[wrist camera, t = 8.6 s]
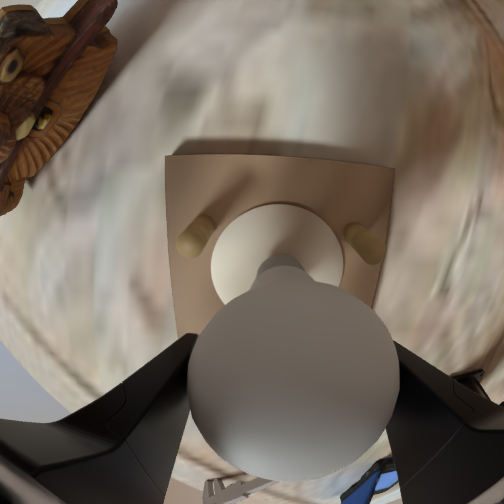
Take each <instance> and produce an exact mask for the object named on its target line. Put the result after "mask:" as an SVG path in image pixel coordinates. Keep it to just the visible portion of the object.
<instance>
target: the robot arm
mask: <svg viewBox="0 0 504 504" xmlns="http://www.w3.org/2000/svg"><path fill="white" fill-rule="evenodd" d="M198 336H199V335H198V334H196V333H186V334H184V335H183V336H182V337H181V338H179V339H178V340H177V341H175V342H174V343H173V344H171V345H170V346H169V347H168V348H166V349H165V350H164V351H162V352H161V353H160V354H158V355H157V356H156V357H155V358H153V359H152V360H151V361H149V362H148V363H147V364H145V365H144V366H143V367H141V368H140V369H139V370H137V371H136V372H135V373H133V374H132V375H131V376H129V377H128V378H127V379H125V380H124V381H123V382H122V383H120V384H119V385H117V386H116V387H115V388H113V389H112V390H110V391H109V392H107V393H106V394H105V395H103V396H102V397H100V398H98V399H97V400H95V401H93V402H92V403H90V404H88V405H86V406H85V407H83V408H81V409H79V410H77V411H76V412H74V413H72V414H70V415H68V416H67V417H65V418H63V419H61V420H58V421H56V422H52V423H32V422H23V421H13V420H6V419H0V504H163V503H164V499H165V495H166V491H167V488H168V484H169V481H170V477H171V474H172V470H173V467H174V463H175V460H176V456H177V453H178V449H179V446H180V442H181V439H182V436H183V432H184V429H185V425H186V422H187V419H188V415H189V412H190V405H189V400H188V395H187V372H188V363H189V360H190V357H191V354H192V351H193V348H194V346H195V343H196V341H197V339H198ZM393 342H394V345H395V348H396V352H397V356H398V360H399V379H400V390H399V394H398V397H397V401H396V404H395V407H394V410H393V414H392V417H391V419H390V420H389V422H388V424H387V426H386V432H387V435H388V439H389V443H390V447H391V451H392V455H393V459H394V463H395V468H396V472H397V477H398V481H399V486H400V492H401V497H402V502H403V504H504V402H502V403H501V404H500V405H498V404H496V403H494V402H492V401H491V400H490V398H489V397H488V395H487V394H486V392H485V391H484V389H483V388H482V386H481V385H480V383H479V382H480V380H481V378H482V377H483V375H484V373H485V372H484V370H483V369H481V370H478V371H475V372H472V373H468V374H465V375H461V376H458V377H454V378H451V377H449V376H448V375H446V374H445V373H443V372H442V371H440V370H439V369H437V368H436V367H434V366H432V365H431V364H429V363H428V362H426V361H425V360H423V359H422V358H420V357H419V356H417V355H415V354H414V353H412V352H411V351H409V350H408V349H406V348H405V347H403V346H402V345H400V344H398V343H397V342H395V341H394V340H393Z"/></svg>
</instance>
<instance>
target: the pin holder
mask: <svg viewBox="0 0 504 504" xmlns="http://www.w3.org/2000/svg"><path fill="white" fill-rule="evenodd" d="M394 172H395V169H393V168H387V167H381V166H374V165H367V164H360V163H352V162H344V161H335V160H325V159H314V158H302V157H288V156H270V155H240V154H198V155H169V156H165V195H166V220H167V237H168V252H169V264H170V275H171V285H172V295H173V303H174V312H175V320H176V327H177V334H178V339H179V338H181V337H182V336H183V335H184V334H186V333H196V334H198V335H200V334H201V332H202V331H203V330H204V328H205V327H206V326H207V325H208V323H209V322H210V321H211V319H212V318H213V317H214V316H215V314H216V313H217V312H218V311H219V310H220V309H221V308H222V307H224V306H225V305H226V304H227V303H228V302H230V301H231V300H232V299H234V298H236V297H238V296H240V295H241V294H243V293H245V292H247V291H249V289H250V287H251V285H252V283H253V282H254V280H255V278H256V275H257V271H258V269H259V267H260V265H261V264H262V263H263V262H264V261H265V260H266V259H268V258H270V257H272V256H276V255H287V256H291V257H293V258H295V259H296V260H298V261H299V262H300V263H301V265H302V266H303V268H304V269H305V272H306V273H308V274H309V275H310V276H311V277H312V278H313V279H314V281H317V282H322V283H327V284H332V285H334V286H337V287H339V288H341V289H344V290H346V291H348V292H350V293H351V294H353V295H354V296H355V297H357V298H358V299H360V300H361V301H362V302H364V303H365V304H366V305H367V306H369V307H370V308H371V306H372V302H373V298H374V294H375V290H376V285H377V281H378V276H379V272H380V267H381V262H382V260H383V259H384V257H385V255H386V246H385V241H386V235H387V229H388V222H389V216H390V208H391V201H392V192H393V183H394Z"/></svg>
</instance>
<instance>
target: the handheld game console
mask: <svg viewBox="0 0 504 504" xmlns="http://www.w3.org/2000/svg"><path fill="white" fill-rule="evenodd" d="M398 482H399V481H398V477H397V472H396V468H395V463H394V459H393V458H388V459H383V460H382V459H381V460H378V461H376V462H375V463H374V464H373V465H372V467H371V468H370V469H369V470H368V471H367V472H366V473H365V474H364V475H363V476H362V477H361V480H360V481H358V482H356V483H355V484H354V485H352V486H351V487H350V488H349V489H348V490H347V491H346V492H344V493H343V494H342V495H341V496H340V499H341V504H370V501H371V499H372V497H373V495H375V494H379V493H383V492H385V491H387V490H389V489H390V488H391V487H393V486H394V485H395V484H397V483H398Z"/></svg>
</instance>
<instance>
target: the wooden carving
mask: <svg viewBox="0 0 504 504" xmlns="http://www.w3.org/2000/svg"><path fill="white" fill-rule="evenodd" d="M117 4H118V2H117V0H78V1H77V2H76V3H75V4H74V5H73V6H72V7H71V8H70V10H69V11H68V12H67V13H66V14H65V15H64V16H63V17H59V18H45V19H43V18H42V17H41V16H40V14H39V13H38V11H37V10H36V9H35V8H34V7H33V6H31V5H11V6H6V7H2V8H1V9H0V216H2V215H5V214H6V213H7V212H10V211H12V210H13V209H14V208H16V206H17V205H18V203H19V201H20V199H21V197H22V193H23V189H24V183H25V177H27V178H30V177H32V176H34V175H35V174H36V173H37V172H38V171H39V170H40V169H41V168H42V167H43V166H44V165H45V164H46V162H48V161H49V160H50V158H51V157H52V156H53V155H54V154H55V152H56V151H57V150H58V149H59V148H60V146H61V145H62V144H63V143H64V142H65V140H66V139H67V137H68V136H69V134H70V133H71V131H72V130H73V129H74V128H75V126H76V124H77V123H78V121H79V120H80V119H81V117H82V115H83V114H84V112H85V110H86V109H87V108H88V106H89V104H90V103H91V102H92V101H93V98H94V96H95V95H96V93H97V91H98V90H99V88H100V86H101V83H102V81H103V80H104V77H105V75H106V73H107V71H108V69H109V66H110V64H111V62H112V60H113V57H114V55H115V53H116V50H117V39H116V38H115V37H114V36H112V34H111V33H110V32H109V31H110V30H109V29H108V28H107V27H106V26H105V25H106V24H107V23H108V21H109V20H110V19H111V17H112V15H113V14H114V12H115V10H116V8H117Z"/></svg>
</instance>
